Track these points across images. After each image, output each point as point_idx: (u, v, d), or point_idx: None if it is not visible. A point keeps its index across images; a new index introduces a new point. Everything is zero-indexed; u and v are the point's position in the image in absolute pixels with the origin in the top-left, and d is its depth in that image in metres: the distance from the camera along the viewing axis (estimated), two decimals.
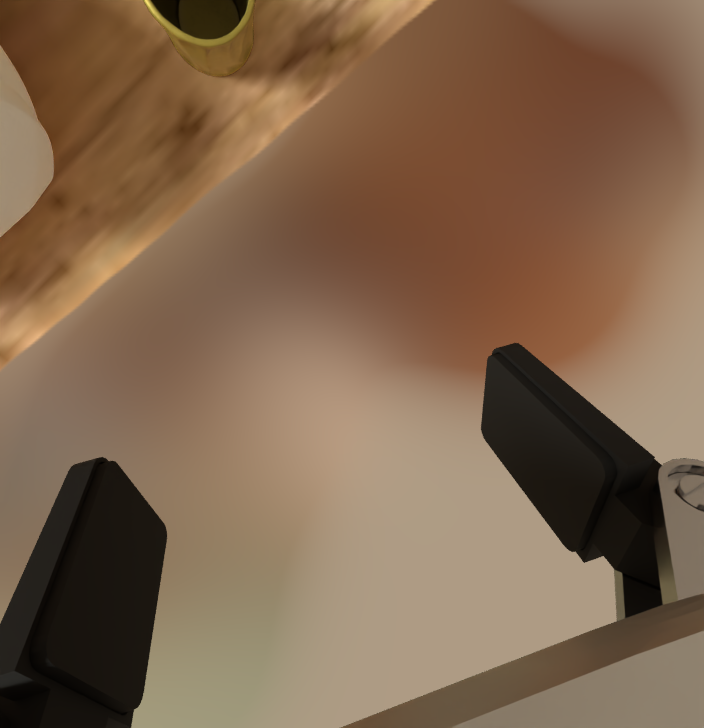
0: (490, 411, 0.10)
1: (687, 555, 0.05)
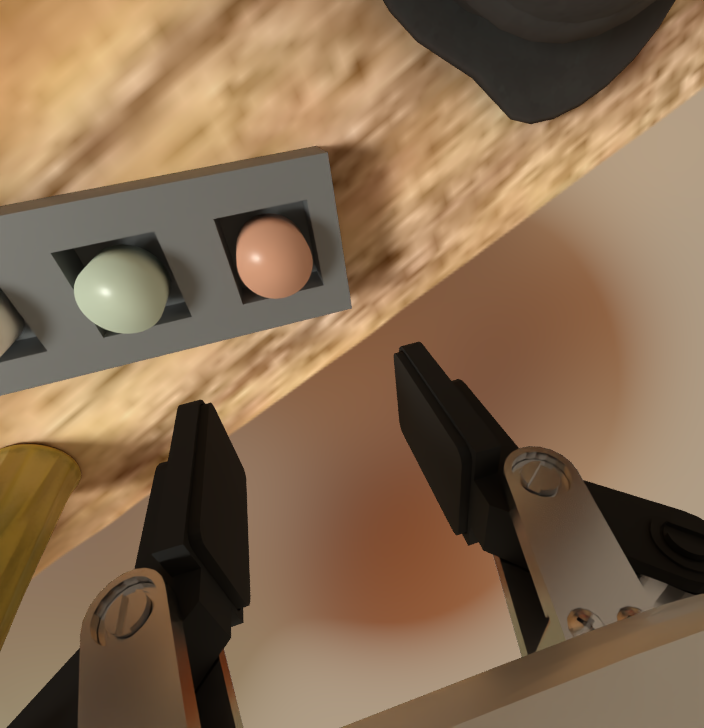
0: (401, 405, 0.11)
1: (545, 546, 0.06)
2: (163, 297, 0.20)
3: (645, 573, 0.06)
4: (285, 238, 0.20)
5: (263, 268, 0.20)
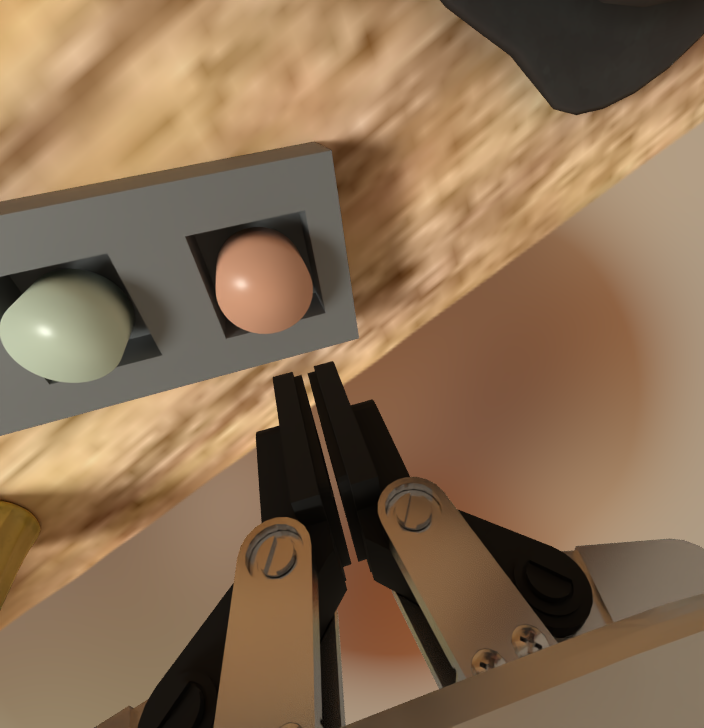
0: (321, 425, 0.10)
1: (434, 591, 0.05)
2: (122, 337, 0.15)
3: None
4: (277, 260, 0.15)
5: (251, 298, 0.16)
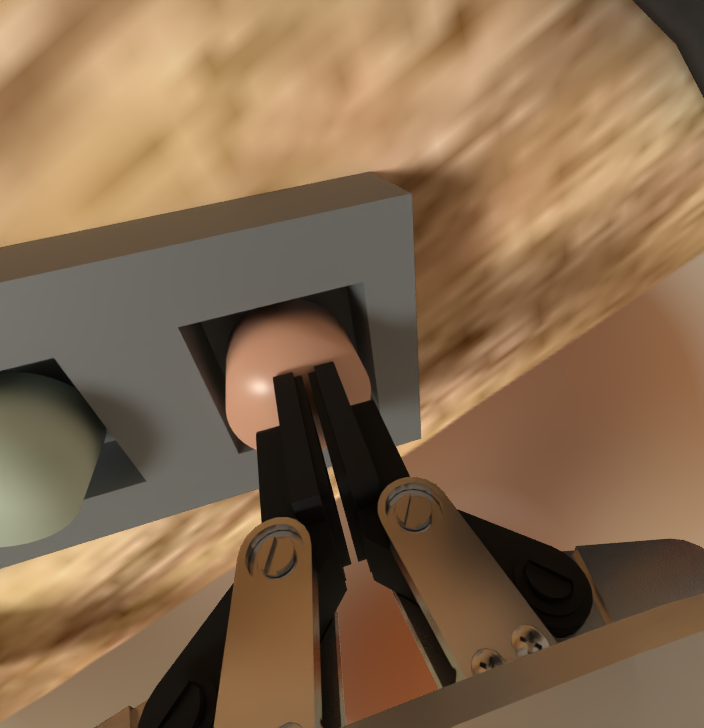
0: (321, 425, 0.10)
1: (433, 590, 0.05)
2: (78, 483, 0.10)
3: None
4: (322, 362, 0.10)
5: None
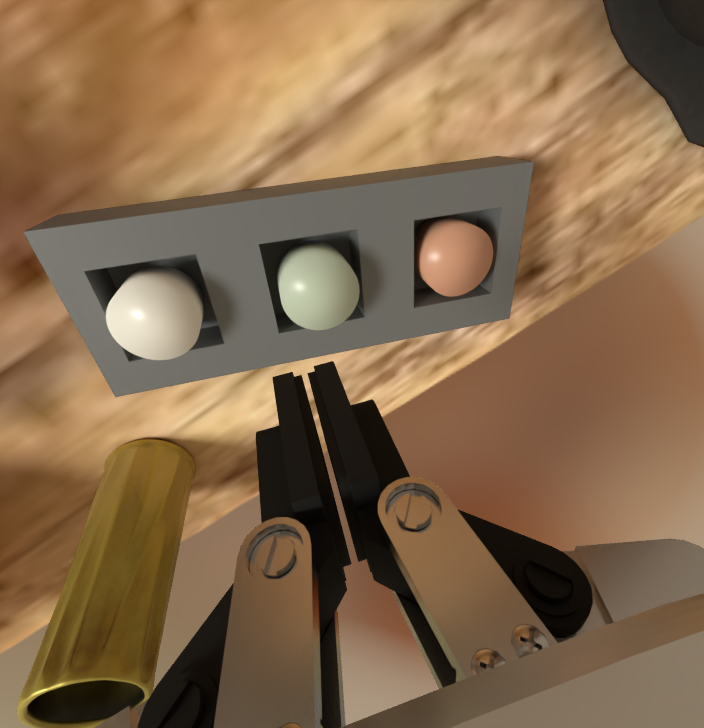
0: (321, 425, 0.10)
1: (434, 590, 0.05)
2: (358, 295, 0.20)
3: None
4: (475, 238, 0.20)
5: (448, 265, 0.21)
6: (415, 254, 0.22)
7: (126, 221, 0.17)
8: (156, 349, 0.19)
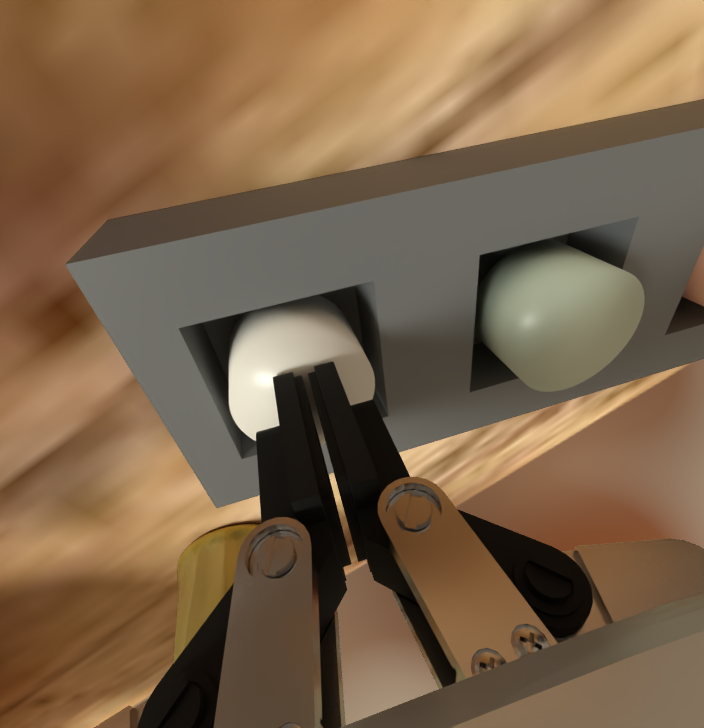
0: (321, 424, 0.10)
1: (434, 591, 0.05)
2: (632, 331, 0.11)
3: None
4: None
5: None
6: None
7: (262, 230, 0.08)
8: None
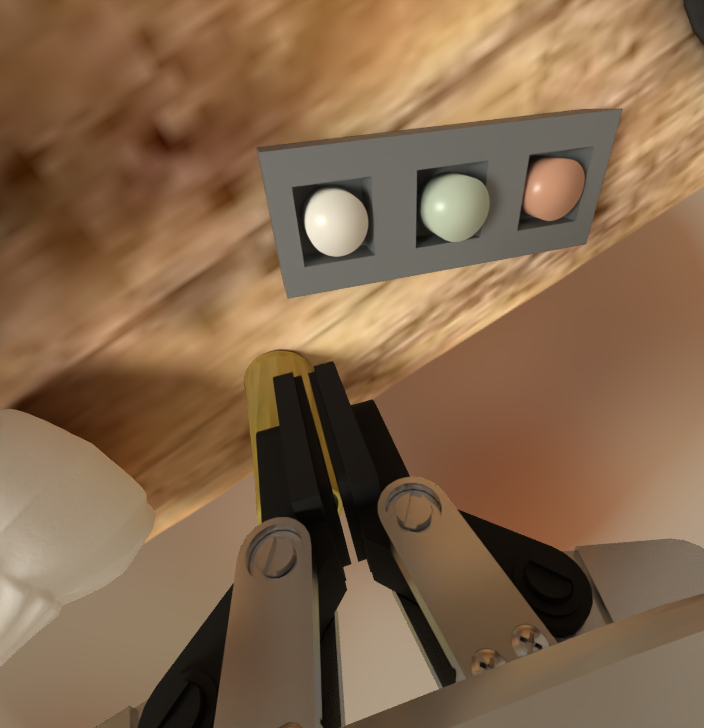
0: (321, 424, 0.10)
1: (434, 590, 0.05)
2: (487, 213, 0.25)
3: None
4: (573, 170, 0.26)
5: (550, 193, 0.27)
6: None
7: (330, 147, 0.22)
8: (334, 247, 0.25)
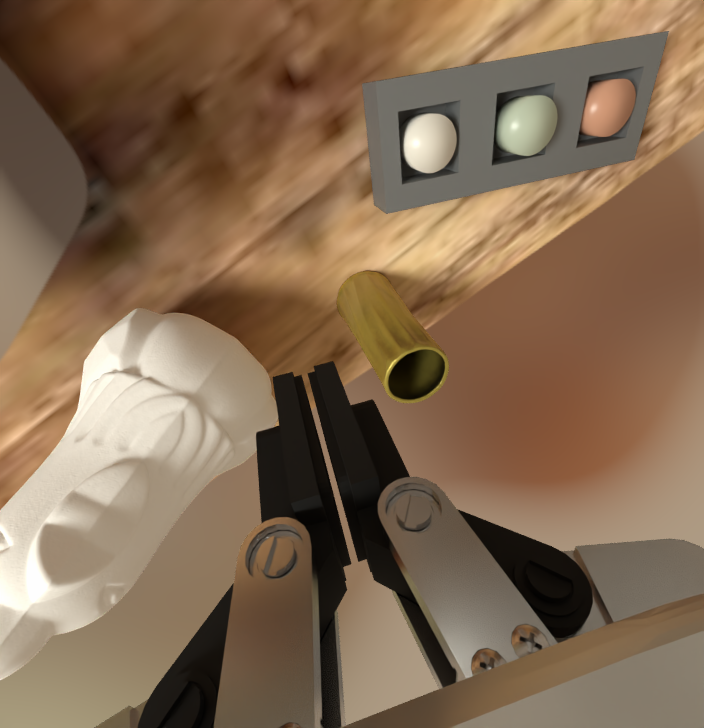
0: (321, 425, 0.10)
1: (434, 591, 0.05)
2: (554, 128, 0.30)
3: None
4: (626, 89, 0.31)
5: (606, 111, 0.31)
6: None
7: (430, 75, 0.27)
8: (428, 164, 0.30)
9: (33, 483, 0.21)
